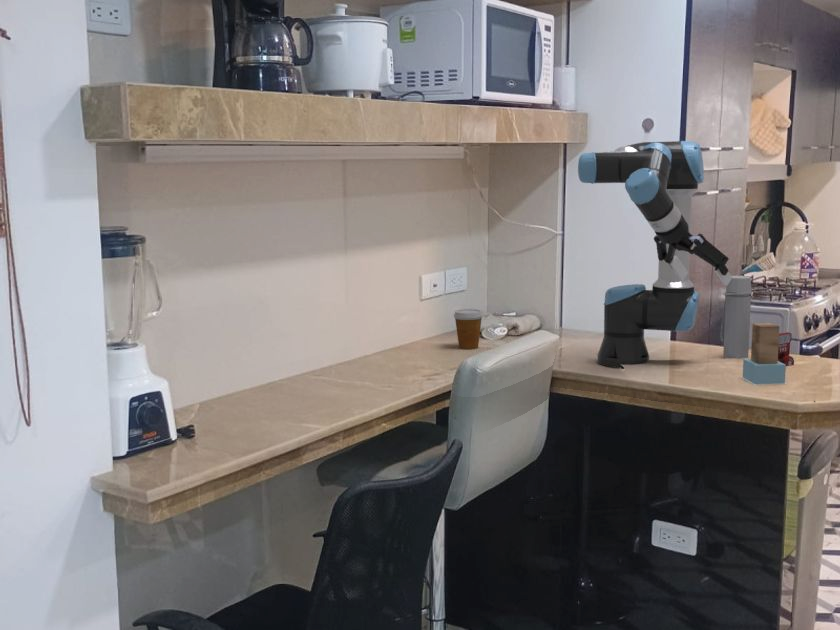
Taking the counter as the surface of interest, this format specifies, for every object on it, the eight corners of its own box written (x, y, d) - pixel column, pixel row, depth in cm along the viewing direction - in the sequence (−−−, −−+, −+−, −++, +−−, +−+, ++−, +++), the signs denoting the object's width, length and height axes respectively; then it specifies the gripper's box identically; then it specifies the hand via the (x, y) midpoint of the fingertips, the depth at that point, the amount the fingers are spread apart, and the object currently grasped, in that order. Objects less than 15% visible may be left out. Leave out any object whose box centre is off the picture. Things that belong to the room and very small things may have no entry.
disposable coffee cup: (452, 345, 301) (451, 309, 299) (480, 344, 302) (480, 308, 300) (456, 350, 292) (455, 314, 290) (485, 349, 293) (485, 313, 291)
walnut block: (750, 360, 244) (752, 323, 242) (768, 359, 244) (770, 323, 242) (759, 364, 239) (760, 326, 237) (777, 363, 239) (779, 326, 237)
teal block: (742, 377, 246) (743, 359, 245) (771, 376, 246) (772, 358, 246) (755, 384, 238) (756, 365, 237) (784, 383, 239) (785, 364, 238)
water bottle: (754, 359, 273) (758, 277, 269) (737, 363, 268) (741, 279, 264) (728, 354, 280) (731, 274, 276) (711, 358, 276) (715, 276, 272)
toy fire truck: (748, 369, 261) (749, 333, 259) (777, 364, 267) (779, 329, 265) (767, 374, 255) (769, 337, 253) (797, 368, 261) (799, 333, 259)
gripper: (621, 231, 229) (660, 285, 240) (701, 237, 209) (740, 295, 219) (636, 209, 231) (674, 263, 242) (717, 213, 211) (755, 272, 221)
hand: (706, 279), depth 231 cm, fingers open, 13 cm apart
